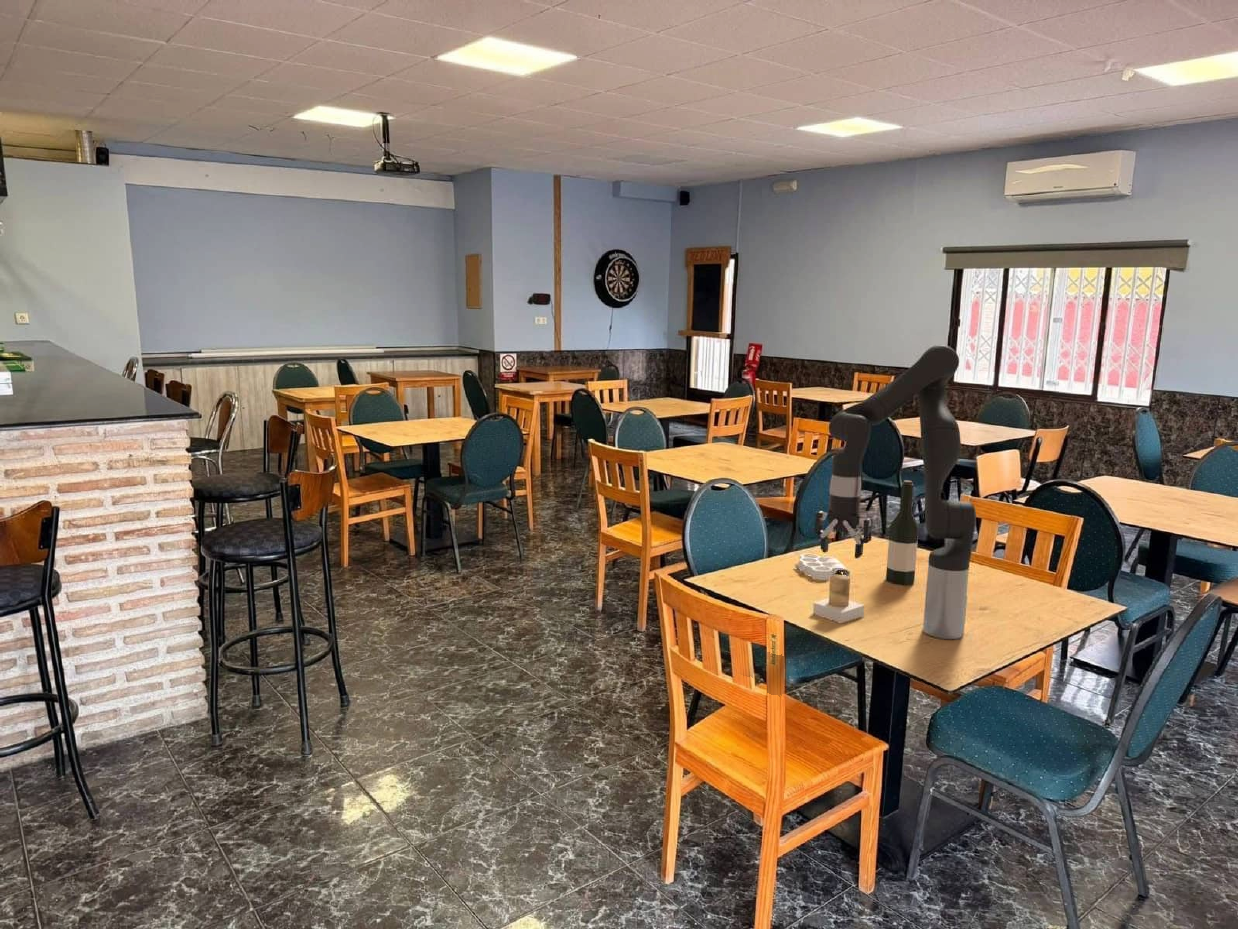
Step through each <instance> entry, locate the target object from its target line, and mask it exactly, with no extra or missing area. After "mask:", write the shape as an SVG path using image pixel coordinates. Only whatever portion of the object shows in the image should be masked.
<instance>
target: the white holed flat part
mask: <svg viewBox="0 0 1238 929" xmlns="http://www.w3.org/2000/svg"><path fill="white" fill-rule="evenodd" d="M793 565H794V566H796V567H797V568H798V571H799V572H801V573H802V572H803V573H805V574H807V575H811V577H812V578H814V579H818V580H817V581H819V580H827V581H830V580H829V579H830V576H832V575H837V572H839V571H838V570H840V572H843V575H846V576H847V577H849V576H851V571H850V570H849V569H847V568H846V567H845V565H844V564H843V563H841V562H840V561H839V559H837V558H835V557H832V556H821V555H818V554H814V553H803V554H800V555H799V560H798V562H797V563H794V564H793ZM799 568H800V570H799ZM840 572H839V573H840ZM803 573H802V574H803ZM835 573H836V574H835ZM807 575H806V576H807ZM811 577H810V578H811ZM812 578H811V579H812ZM814 579H813V580H814Z"/></svg>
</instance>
